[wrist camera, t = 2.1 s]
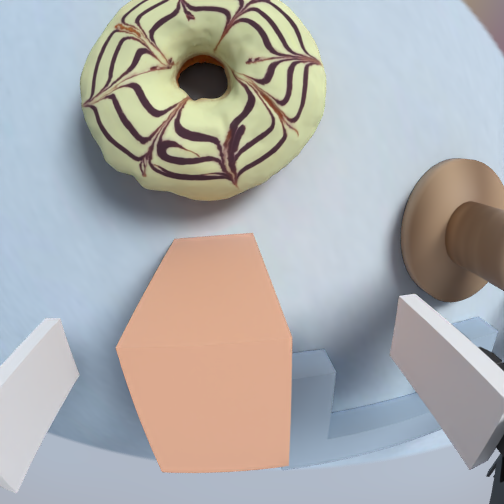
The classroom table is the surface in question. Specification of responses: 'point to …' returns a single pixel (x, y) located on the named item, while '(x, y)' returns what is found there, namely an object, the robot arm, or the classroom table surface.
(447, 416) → the robot arm
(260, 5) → the decorated donut
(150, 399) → the tab
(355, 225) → the classroom table surface
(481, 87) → the classroom table surface
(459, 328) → the u-shaped block
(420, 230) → the bobbin
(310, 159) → the classroom table surface
